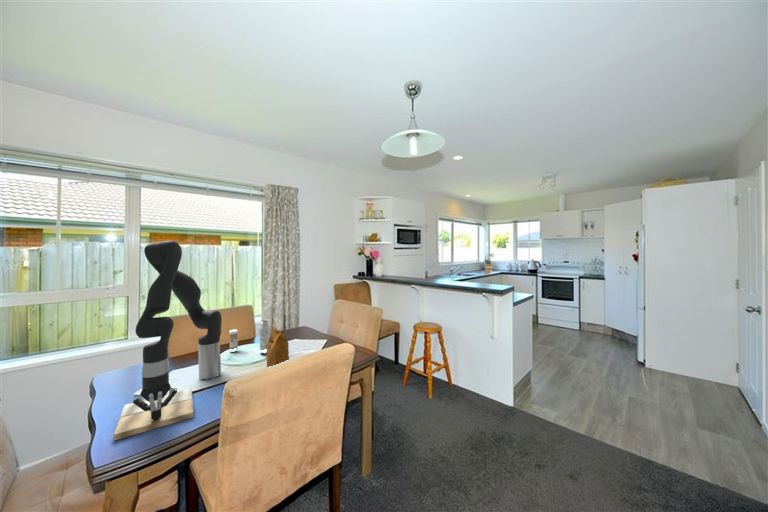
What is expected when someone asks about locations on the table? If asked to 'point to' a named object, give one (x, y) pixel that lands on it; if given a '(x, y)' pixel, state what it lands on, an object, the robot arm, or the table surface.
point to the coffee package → (277, 348)
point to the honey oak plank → (144, 422)
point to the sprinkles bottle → (233, 339)
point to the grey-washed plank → (178, 397)
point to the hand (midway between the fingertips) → (156, 419)
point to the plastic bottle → (264, 335)
